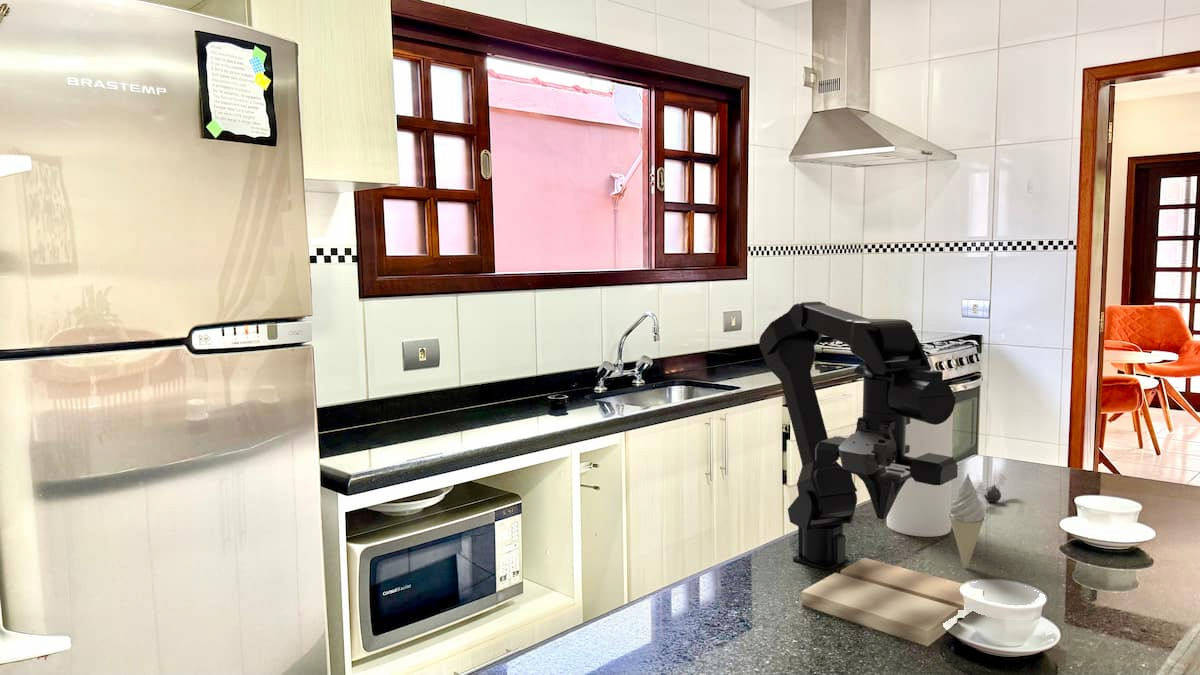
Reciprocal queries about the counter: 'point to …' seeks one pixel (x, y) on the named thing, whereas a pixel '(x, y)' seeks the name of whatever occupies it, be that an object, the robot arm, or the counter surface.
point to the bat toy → (992, 490)
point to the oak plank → (880, 608)
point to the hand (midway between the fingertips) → (881, 518)
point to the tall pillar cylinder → (924, 485)
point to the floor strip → (906, 581)
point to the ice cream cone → (966, 519)
